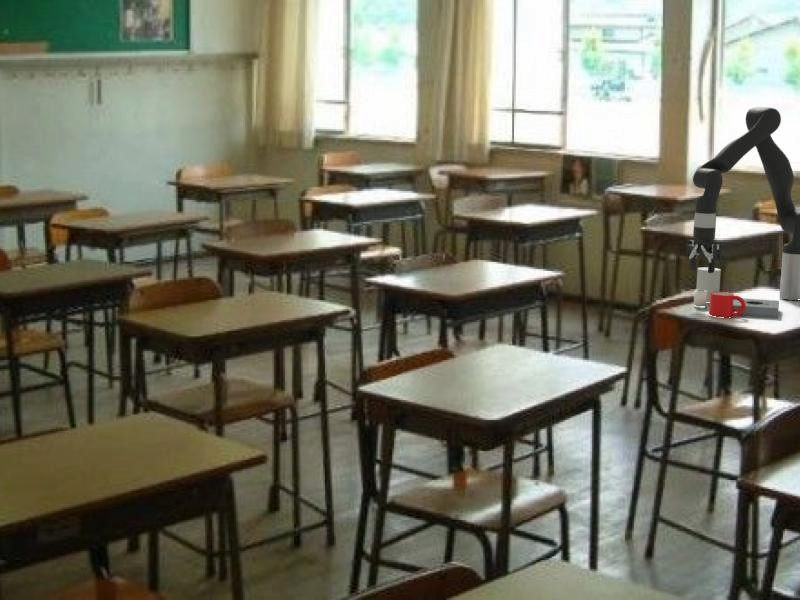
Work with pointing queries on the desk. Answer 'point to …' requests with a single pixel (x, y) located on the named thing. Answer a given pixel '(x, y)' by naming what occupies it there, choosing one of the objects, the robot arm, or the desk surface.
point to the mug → (724, 304)
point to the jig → (758, 308)
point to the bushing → (700, 297)
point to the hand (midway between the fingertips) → (701, 271)
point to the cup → (708, 281)
